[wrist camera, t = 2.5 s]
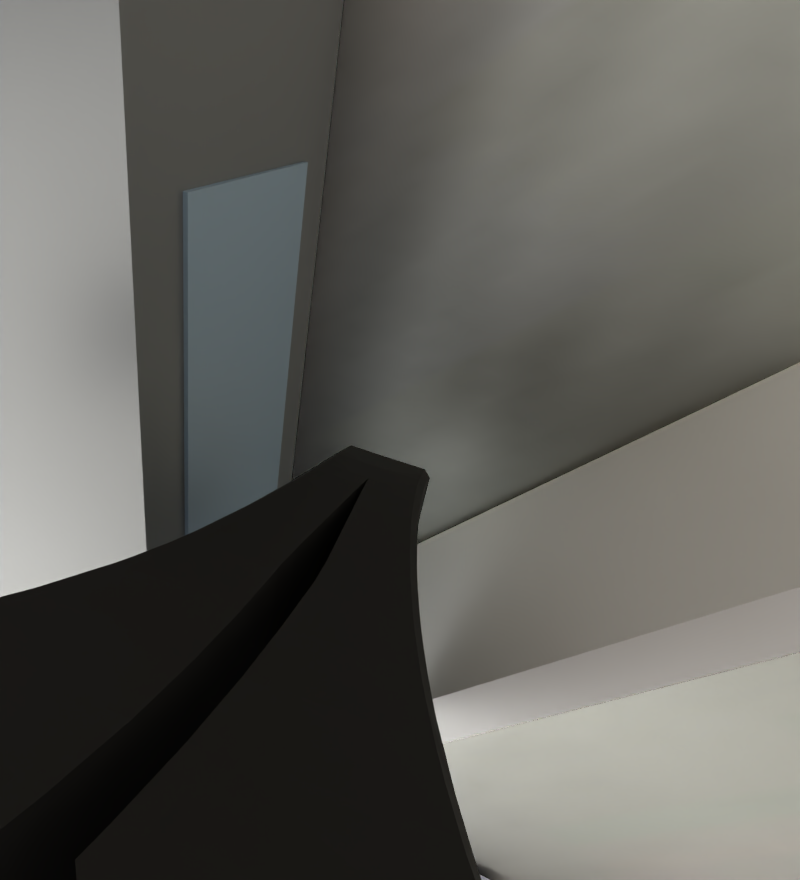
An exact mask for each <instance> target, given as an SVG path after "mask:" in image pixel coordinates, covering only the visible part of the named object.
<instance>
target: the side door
mask: <svg viewBox="0 0 800 880" xmlns="http://www.w3.org/2000/svg"><path fill="white" fill-rule="evenodd" d="M417 581H418V597H419V611H420V621H421V631H422V639H423V646H424V653H425V659H426V666H427V672H428V678H429V683H430V689H431V694H432V699H433V704H434V710H435V714H436V719H437V723H438V727H439V731H440V735H441V739H442V743H443V744H444V743H448V742H452V741H456V740H460V739H464V738H467V737H471V736H475V735H479V734H483V733H487V732H491V731H495V730H499V729H503V728H507V727H510V726H514V725H518V724H522V723H526V722H530V721H534V720H538V719H542V718H546V717H550V716H553V715H557V714H561V713H565V712H569V711H573V710H577V709H581V708H585V707H589V706H592V705H596V704H600V703H604V702H608V701H612V700H616V699H620V698H624V697H628V696H632V695H635V694H639V693H643V692H647V691H651V690H655V689H659V688H663V687H667V686H671V685H675V684H678V683H682V682H686V681H690V680H694V679H698V678H702V677H706V676H710V675H714V674H717V673H721V672H725V671H729V670H733V669H737V668H741V667H745V666H749V665H753V664H757V663H760V662H764V661H768V660H772V659H776V658H780V657H784V656H788V655H792V654H796V653H799V652H800V362H799V363H797V364H795V365H793V366H791V367H789V368H787V369H785V370H783V371H780V372H778V373H776V374H774V375H772V376H770V377H768V378H766V379H764V380H762V381H759V382H757V383H755V384H753V385H751V386H749V387H747V388H745V389H743V390H740V391H738V392H736V393H734V394H732V395H730V396H728V397H726V398H724V399H722V400H719V401H717V402H715V403H713V404H711V405H709V406H707V407H705V408H703V409H701V410H698V411H696V412H694V413H692V414H690V415H688V416H686V417H684V418H682V419H679V420H677V421H675V422H673V423H671V424H669V425H667V426H665V427H663V428H661V429H658V430H656V431H654V432H652V433H650V434H648V435H646V436H644V437H642V438H639V439H637V440H635V441H633V442H631V443H629V444H627V445H625V446H623V447H621V448H618V449H616V450H614V451H612V452H610V453H608V454H606V455H604V456H602V457H600V458H597V459H595V460H593V461H591V462H589V463H587V464H585V465H583V466H581V467H578V468H576V469H574V470H572V471H570V472H568V473H566V474H564V475H562V476H560V477H557V478H555V479H553V480H551V481H549V482H547V483H545V484H543V485H541V486H539V487H536V488H534V489H532V490H530V491H528V492H526V493H524V494H522V495H520V496H517V497H515V498H513V499H511V500H509V501H507V502H505V503H503V504H501V505H499V506H496V507H494V508H492V509H490V510H488V511H486V512H484V513H482V514H480V515H477V516H475V517H473V518H471V519H469V520H467V521H465V522H463V523H461V524H459V525H456V526H454V527H452V528H450V529H448V530H446V531H444V532H442V533H440V534H438V535H435V536H433V537H431V538H429V539H427V540H425V541H423V542H421V543H419V544H417Z"/></svg>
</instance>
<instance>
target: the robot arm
mask: <svg viewBox="0 0 800 880" xmlns="http://www.w3.org/2000/svg"><path fill="white" fill-rule="evenodd" d="M429 479H430V478H429V476H428V474H427V473H426V471H425V469H422V468H419V467H416V466H412V465H409V464H406V463H403V462H400V461H397V460H394V459H391V458H388V457H384V456H381V455H378V454H375V453H372V452H369V451H366V450H363V449H360V448H356V447H353V446H350V447H348V448H346V449H344V450H342V451H340V452H339V453H337V454H335V455H334V456H332V457H330V458H329V459H327V460H325V461H324V462H322V463H320V464H319V465H317V466H316V467H314V468H312V469H311V470H309V471H307V472H306V473H304V474H302V475H300V476H299V477H297V478H295V479H294V480H292V481H290V482H289V483H287V484H285V485H283V486H281V487H280V488H278V489H276V490H274V491H273V492H271V493H269V494H267V495H265V496H264V497H262V498H260V499H258V500H256V501H255V502H253V503H251V504H249V505H247V506H245V507H243V508H241V509H239V510H237V511H235V512H233V513H231V514H229V515H227V516H225V517H223V518H221V519H219V520H217V521H215V522H213V523H211V524H209V525H207V526H204V527H202V528H200V529H198V530H196V531H194V532H192V533H189V534H187V535H185V536H183V537H180V538H178V539H176V540H173V541H171V542H169V543H166V544H164V545H161V546H158V547H156V548H153V549H151V550H148V551H145V552H143V553H140V554H138V555H135V556H132V557H130V558H127V559H124V560H121V561H118V562H116V563H112V564H109V565H106V566H103V567H100V568H97V569H93V570H90V571H87V572H84V573H81V574H78V575H74V576H71V577H68V578H65V579H62V580H58V581H55V582H52V583H49V584H46V585H43V586H39V587H36V588H32V589H29V590H25V591H21V592H17V593H13V594H10V595H6V596H2V597H0V880H489V879H488V878H486V877H484V876H482V875H480V874H479V871H478V868H477V865H476V862H475V859H474V856H473V853H472V849H471V846H470V842H469V839H468V836H467V832H466V829H465V826H464V822H463V819H462V815H461V812H460V809H459V805H458V802H457V799H456V795H455V792H454V788H453V784H452V780H451V776H450V772H449V767H448V763H447V759H446V755H445V751H444V747H443V743H442V739H441V735H440V731H439V727H438V723H437V719H436V714H435V710H434V704H433V699H432V694H431V689H430V683H429V678H428V672H427V666H426V659H425V653H424V646H423V639H422V631H421V621H420V611H419V597H418V581H417V535H418V522H419V518H420V514H421V510H422V506H423V502H424V498H425V494H426V490H427V486H428V482H429Z"/></svg>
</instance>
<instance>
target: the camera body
mask: <svg viewBox="0 0 800 880" xmlns="http://www.w3.org/2000/svg"><path fill="white" fill-rule="evenodd" d="M343 3H344V0H0V597H2V596H6V595H10V594H13V593H17V592H21V591H25V590H29V589H32V588H36V587H39V586H43V585H46V584H49V583H52V582H55V581H58V580H62V579H65V578H68V577H71V576H74V575H78V574H81V573H84V572H87V571H90V570H93V569H97V568H100V567H103V566H106V565H109V564H112V563H116V562H118V561H121V560H124V559H127V558H130V557H132V556H135V555H138V554H140V553H143V552H145V551H148V550H151V549H153V548H156V547H158V546H161V545H164V544H166V543H169V542H171V541H173V540H176V539H178V538H180V537H183V536H185V535H187V534H189V533H192V532H194V531H196V530H198V529H200V528H202V527H204V526H207V525H209V524H211V523H213V522H215V521H217V520H219V519H221V518H223V517H225V516H227V515H229V514H231V513H233V512H235V511H237V510H239V509H241V508H243V507H245V506H247V505H249V504H251V503H253V502H255V501H256V500H258V499H260V498H262V497H264V496H265V495H267V494H269V493H271V492H273V491H274V490H276V489H278V488H280V487H281V486H283V485H285V484H287V483H289V482H290V481H292V473H293V463H294V454H295V445H296V436H297V427H298V417H299V408H300V399H301V390H302V381H303V371H304V362H305V353H306V344H307V334H308V325H309V316H310V307H311V298H312V288H313V279H314V270H315V261H316V252H317V242H318V233H319V224H320V215H321V206H322V196H323V187H324V178H325V169H326V160H327V150H328V141H329V132H330V123H331V114H332V104H333V95H334V86H335V77H336V67H337V58H338V49H339V40H340V31H341V21H342V12H343Z"/></svg>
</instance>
